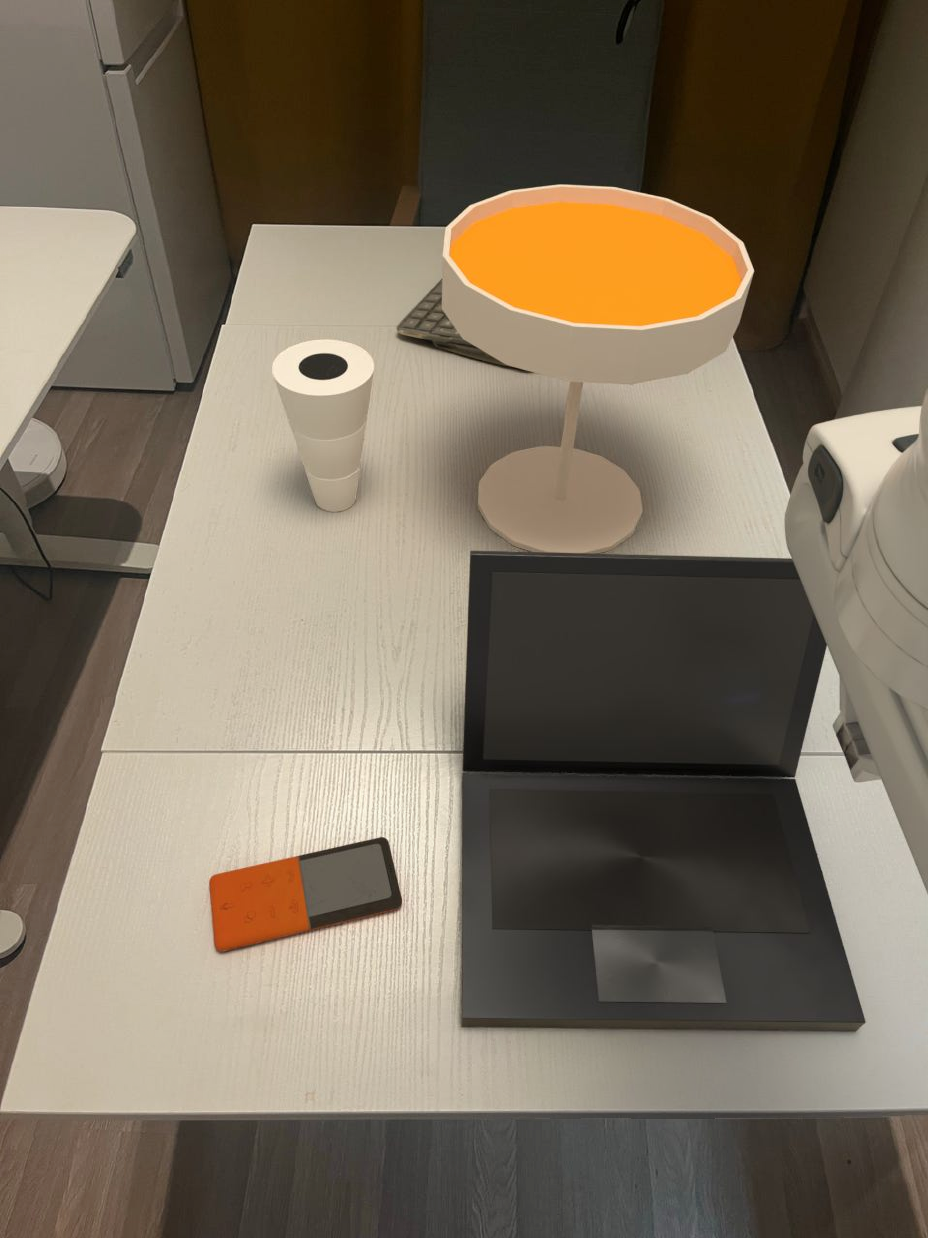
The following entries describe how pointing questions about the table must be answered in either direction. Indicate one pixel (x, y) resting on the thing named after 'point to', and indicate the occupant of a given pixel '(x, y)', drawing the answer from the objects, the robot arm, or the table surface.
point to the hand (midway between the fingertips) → (858, 753)
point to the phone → (303, 893)
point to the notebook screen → (638, 664)
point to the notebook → (646, 906)
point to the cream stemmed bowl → (586, 332)
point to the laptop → (439, 327)
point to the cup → (327, 413)
